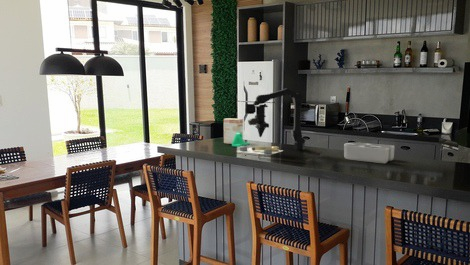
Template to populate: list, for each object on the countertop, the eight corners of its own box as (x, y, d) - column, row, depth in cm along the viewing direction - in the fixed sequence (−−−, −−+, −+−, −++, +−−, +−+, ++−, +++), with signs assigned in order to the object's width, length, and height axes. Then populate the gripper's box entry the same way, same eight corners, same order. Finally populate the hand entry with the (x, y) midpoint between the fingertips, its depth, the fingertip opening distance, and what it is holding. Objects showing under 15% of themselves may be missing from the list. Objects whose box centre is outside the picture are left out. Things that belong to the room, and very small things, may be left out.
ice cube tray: (385, 164, 234) (385, 149, 233) (339, 158, 251) (339, 145, 250) (394, 159, 247) (394, 145, 246) (350, 155, 264) (350, 141, 263)
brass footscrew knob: (277, 149, 276) (277, 145, 275) (279, 151, 270) (279, 146, 269) (251, 150, 273) (250, 146, 273) (252, 151, 267) (252, 147, 267)
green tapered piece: (239, 148, 295) (239, 134, 293) (231, 147, 300) (231, 133, 298) (250, 146, 304) (250, 132, 302) (242, 145, 309) (242, 131, 307)
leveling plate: (283, 152, 273) (283, 146, 272) (269, 157, 257) (269, 150, 257) (250, 149, 287) (250, 143, 287) (235, 153, 272) (235, 147, 271)
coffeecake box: (243, 143, 315) (243, 118, 312) (237, 145, 310) (237, 119, 307) (229, 142, 325) (229, 117, 323) (223, 143, 320) (223, 118, 317)
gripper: (245, 113, 279) (245, 135, 281) (252, 115, 261) (252, 139, 263) (260, 112, 282) (260, 135, 284) (269, 114, 264) (269, 138, 266)
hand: (260, 136), depth 274 cm, fingers closed
